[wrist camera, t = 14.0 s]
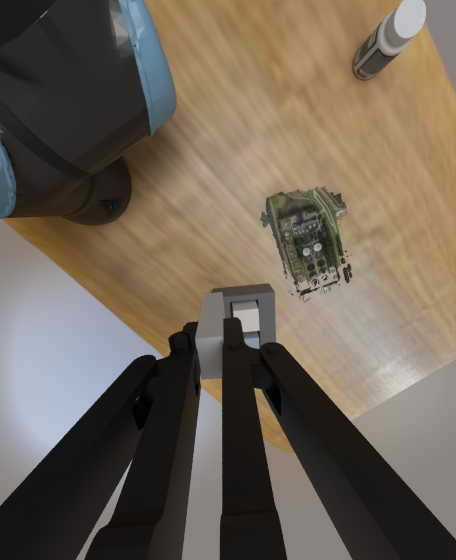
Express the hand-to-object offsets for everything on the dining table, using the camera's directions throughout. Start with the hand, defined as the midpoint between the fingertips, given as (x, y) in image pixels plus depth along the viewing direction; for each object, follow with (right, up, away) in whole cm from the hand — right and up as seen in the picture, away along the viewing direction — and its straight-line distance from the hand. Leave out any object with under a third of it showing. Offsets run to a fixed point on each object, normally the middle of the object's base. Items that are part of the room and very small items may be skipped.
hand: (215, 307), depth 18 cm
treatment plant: (+18, +10, +26) cm, 33 cm away
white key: (+4, -4, +25) cm, 26 cm away
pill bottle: (+24, +38, +16) cm, 47 cm away
